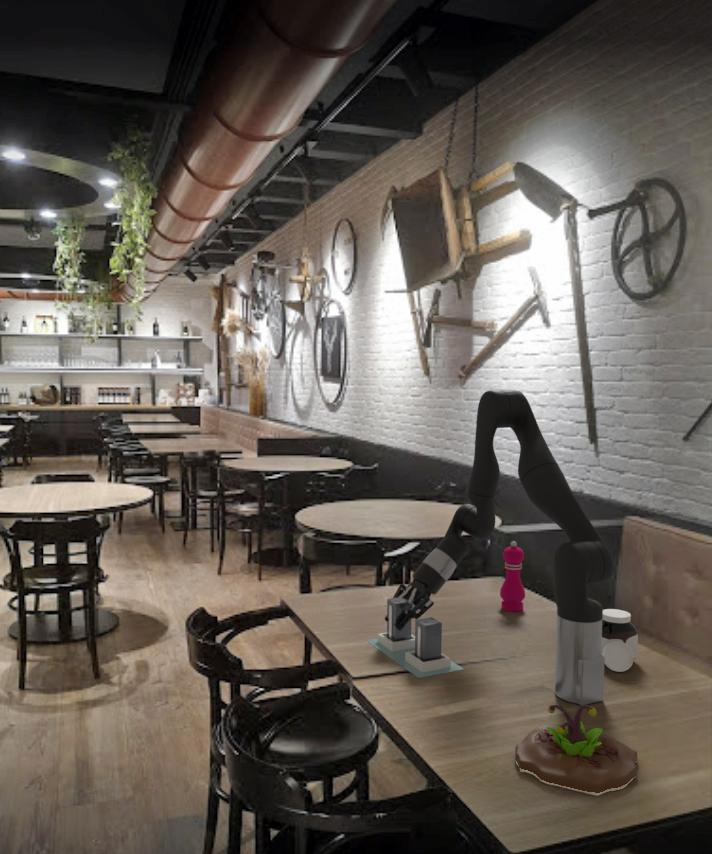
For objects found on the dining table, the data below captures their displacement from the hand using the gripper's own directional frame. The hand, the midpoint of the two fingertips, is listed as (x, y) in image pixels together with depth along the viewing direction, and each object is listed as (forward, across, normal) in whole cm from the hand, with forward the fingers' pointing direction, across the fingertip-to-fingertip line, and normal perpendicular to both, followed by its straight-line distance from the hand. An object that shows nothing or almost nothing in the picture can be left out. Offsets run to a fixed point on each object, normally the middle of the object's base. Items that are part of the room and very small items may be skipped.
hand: (392, 624), depth 186 cm
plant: (+2, +61, +8) cm, 62 cm away
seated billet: (+2, +14, +5) cm, 15 cm away
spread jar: (-27, +29, +37) cm, 54 cm away
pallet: (+3, +7, +6) cm, 10 cm away
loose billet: (+2, 0, +4) cm, 5 cm away
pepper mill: (-29, -16, +40) cm, 52 cm away
